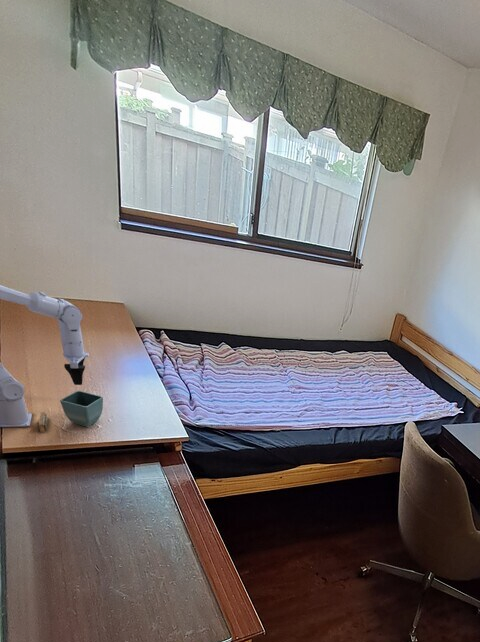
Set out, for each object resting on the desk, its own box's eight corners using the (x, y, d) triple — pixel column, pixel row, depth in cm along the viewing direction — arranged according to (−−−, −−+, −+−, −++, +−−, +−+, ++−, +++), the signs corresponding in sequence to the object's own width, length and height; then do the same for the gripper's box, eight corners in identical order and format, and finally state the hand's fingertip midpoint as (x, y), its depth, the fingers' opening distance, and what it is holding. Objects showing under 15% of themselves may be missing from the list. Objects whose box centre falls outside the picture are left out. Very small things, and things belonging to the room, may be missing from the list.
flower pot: (107, 420, 155) (103, 396, 150) (90, 431, 148) (86, 407, 143) (81, 413, 155) (77, 389, 150) (63, 425, 148) (59, 400, 143)
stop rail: (40, 432, 142) (38, 424, 140) (42, 419, 147) (40, 412, 146) (46, 432, 143) (44, 424, 141) (48, 419, 148) (46, 412, 147)
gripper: (86, 349, 142) (92, 389, 150) (87, 333, 152) (92, 370, 160) (59, 348, 139) (66, 389, 146) (61, 331, 149) (68, 370, 156)
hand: (78, 379), depth 153 cm, fingers open, 7 cm apart
